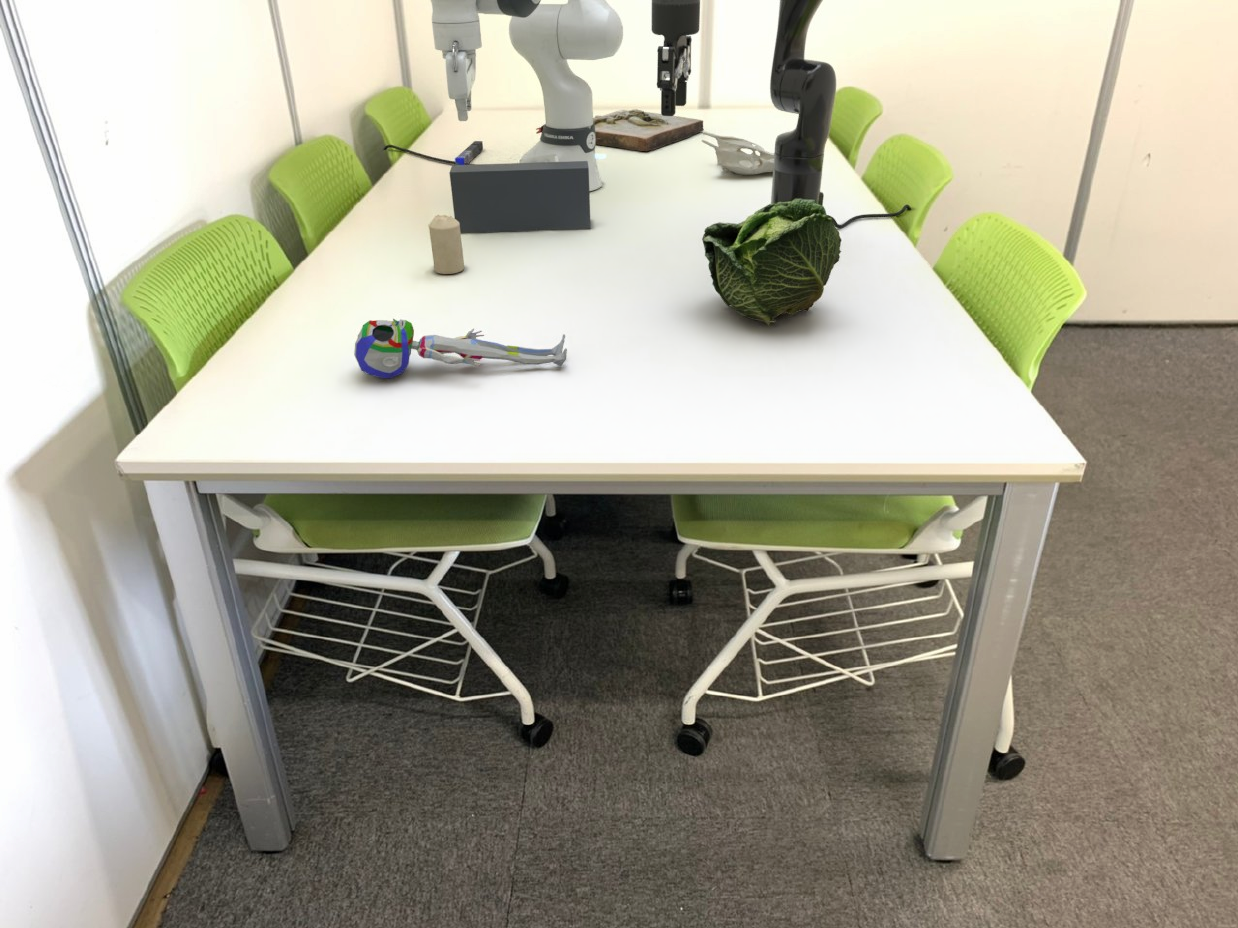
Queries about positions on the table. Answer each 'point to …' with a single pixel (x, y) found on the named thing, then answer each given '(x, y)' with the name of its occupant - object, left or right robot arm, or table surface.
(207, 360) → the table surface
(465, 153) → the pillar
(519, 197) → the box
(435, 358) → the toy
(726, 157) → the anatomical model
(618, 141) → the plaque
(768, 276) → the vegetable
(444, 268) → the candle
